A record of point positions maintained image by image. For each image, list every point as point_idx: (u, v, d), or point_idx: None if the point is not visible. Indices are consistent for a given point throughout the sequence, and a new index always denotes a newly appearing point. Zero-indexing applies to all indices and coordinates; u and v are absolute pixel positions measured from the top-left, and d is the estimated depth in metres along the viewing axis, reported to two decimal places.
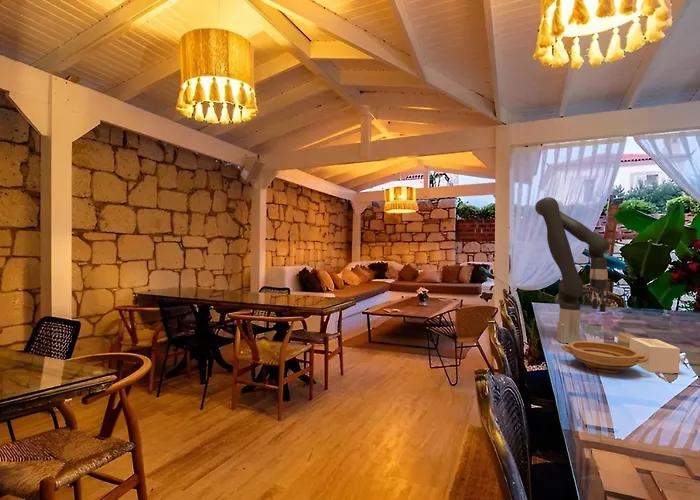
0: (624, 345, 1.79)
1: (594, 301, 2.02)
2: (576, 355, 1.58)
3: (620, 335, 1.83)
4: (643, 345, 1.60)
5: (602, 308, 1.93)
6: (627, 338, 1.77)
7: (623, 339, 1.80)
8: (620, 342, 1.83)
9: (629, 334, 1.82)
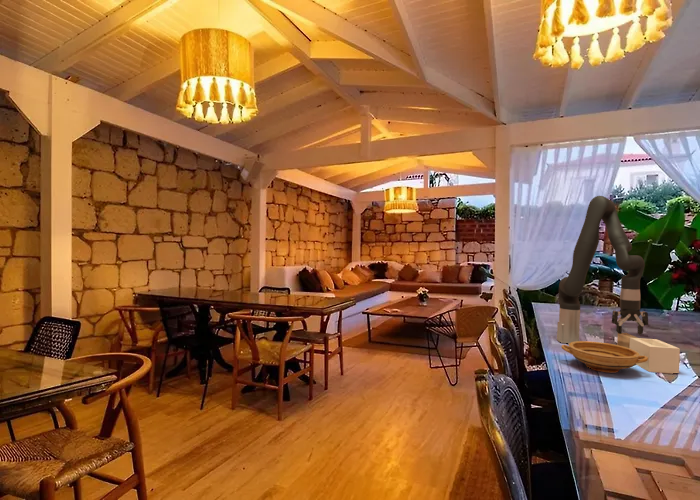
0: (624, 345, 1.79)
1: None
2: (576, 355, 1.58)
3: (620, 335, 1.83)
4: (643, 345, 1.60)
5: None
6: (627, 338, 1.77)
7: (623, 339, 1.80)
8: (620, 342, 1.83)
9: (629, 334, 1.82)
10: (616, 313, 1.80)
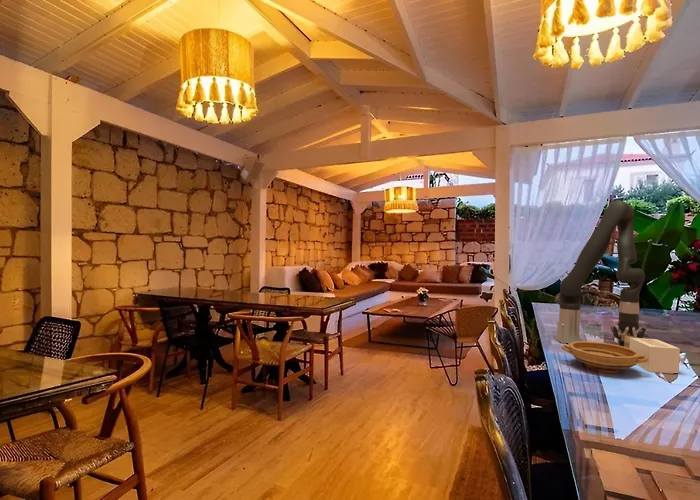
0: (624, 345, 1.79)
1: None
2: (576, 355, 1.58)
3: None
4: (643, 345, 1.60)
5: None
6: (627, 338, 1.77)
7: None
8: None
9: (629, 334, 1.82)
10: (615, 328, 1.80)
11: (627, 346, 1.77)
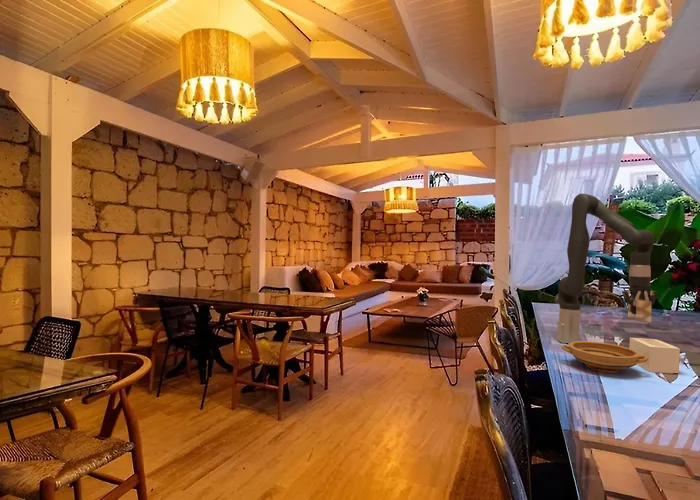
0: (636, 310, 1.73)
1: None
2: (576, 355, 1.58)
3: None
4: (643, 345, 1.60)
5: None
6: (639, 302, 1.70)
7: None
8: None
9: (640, 299, 1.76)
10: (626, 293, 1.73)
11: (640, 310, 1.70)
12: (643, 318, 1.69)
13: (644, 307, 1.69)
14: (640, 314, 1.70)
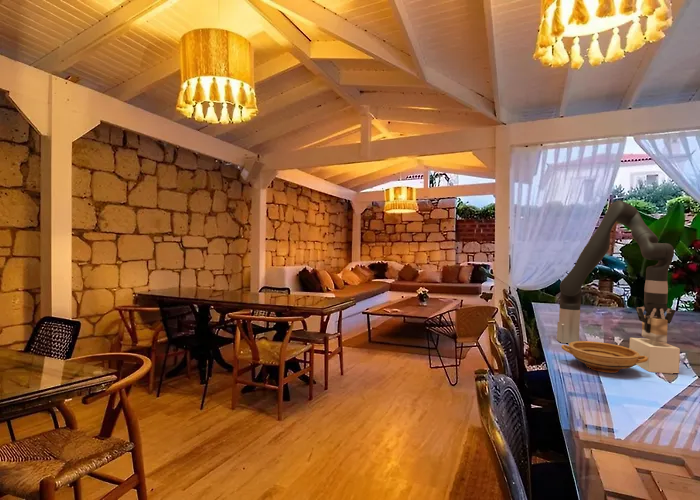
0: (651, 328, 1.61)
1: None
2: (576, 355, 1.58)
3: None
4: (643, 345, 1.60)
5: None
6: (654, 320, 1.59)
7: None
8: None
9: None
10: (640, 310, 1.62)
11: (654, 329, 1.59)
12: (658, 337, 1.58)
13: (659, 326, 1.58)
14: (655, 333, 1.59)
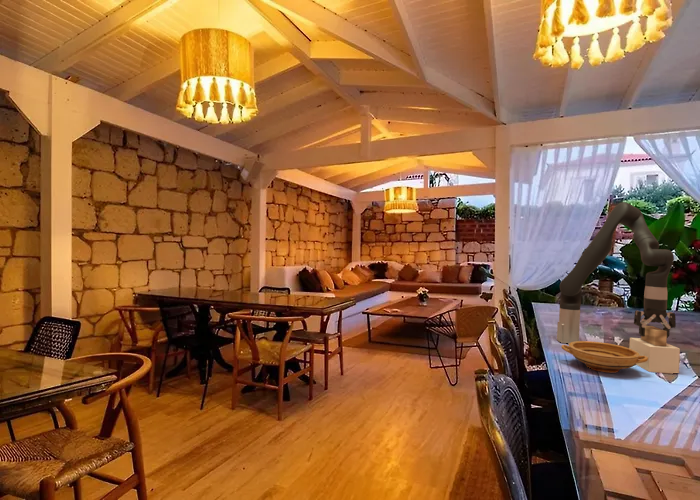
0: (650, 339, 1.61)
1: None
2: (576, 355, 1.58)
3: (645, 328, 1.65)
4: (643, 345, 1.60)
5: None
6: (654, 331, 1.59)
7: (649, 333, 1.62)
8: (645, 336, 1.65)
9: (655, 327, 1.64)
10: (639, 313, 1.62)
11: (654, 340, 1.59)
12: None
13: (658, 337, 1.58)
14: (654, 344, 1.59)
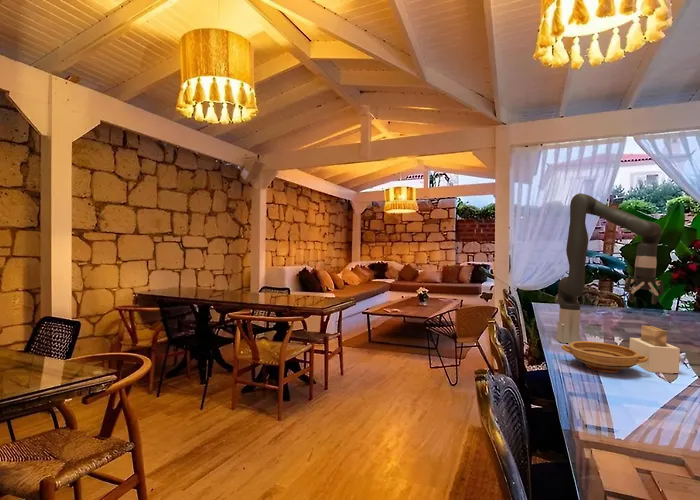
0: (650, 339, 1.61)
1: None
2: (576, 355, 1.58)
3: (645, 328, 1.65)
4: (643, 345, 1.60)
5: None
6: (654, 331, 1.59)
7: (649, 333, 1.62)
8: (645, 336, 1.65)
9: (655, 327, 1.64)
10: (629, 280, 1.75)
11: (654, 340, 1.59)
12: None
13: (658, 337, 1.58)
14: (654, 344, 1.59)
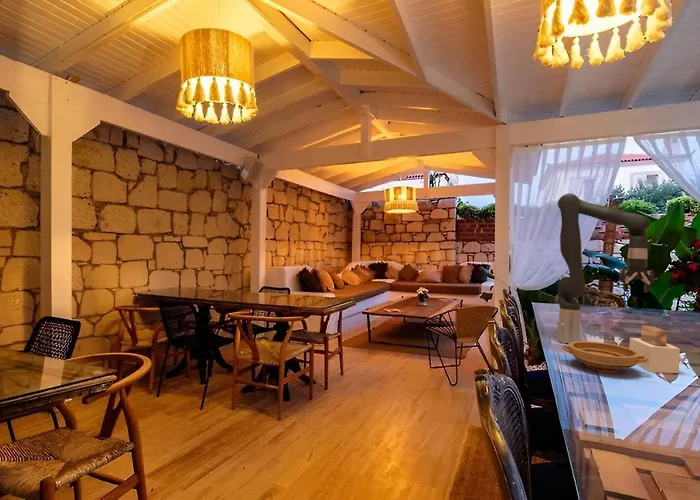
0: (650, 339, 1.61)
1: None
2: (576, 355, 1.58)
3: (645, 328, 1.65)
4: (643, 345, 1.60)
5: None
6: (654, 331, 1.59)
7: (649, 333, 1.62)
8: (645, 336, 1.65)
9: (655, 327, 1.64)
10: (623, 271, 1.87)
11: (654, 340, 1.59)
12: None
13: (658, 337, 1.58)
14: (654, 344, 1.59)
